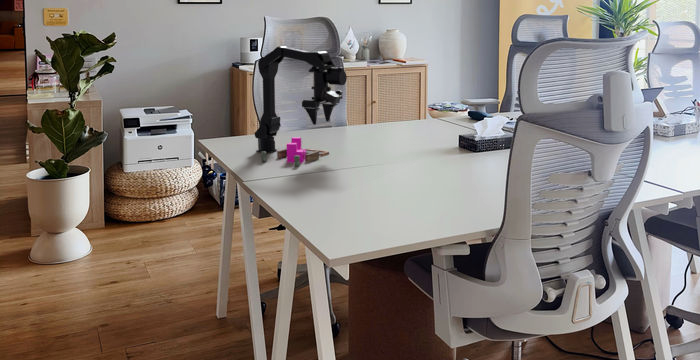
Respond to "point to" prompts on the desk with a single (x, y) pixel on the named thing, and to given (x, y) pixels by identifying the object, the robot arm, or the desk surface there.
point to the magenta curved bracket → (295, 150)
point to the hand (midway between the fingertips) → (321, 122)
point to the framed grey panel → (309, 156)
